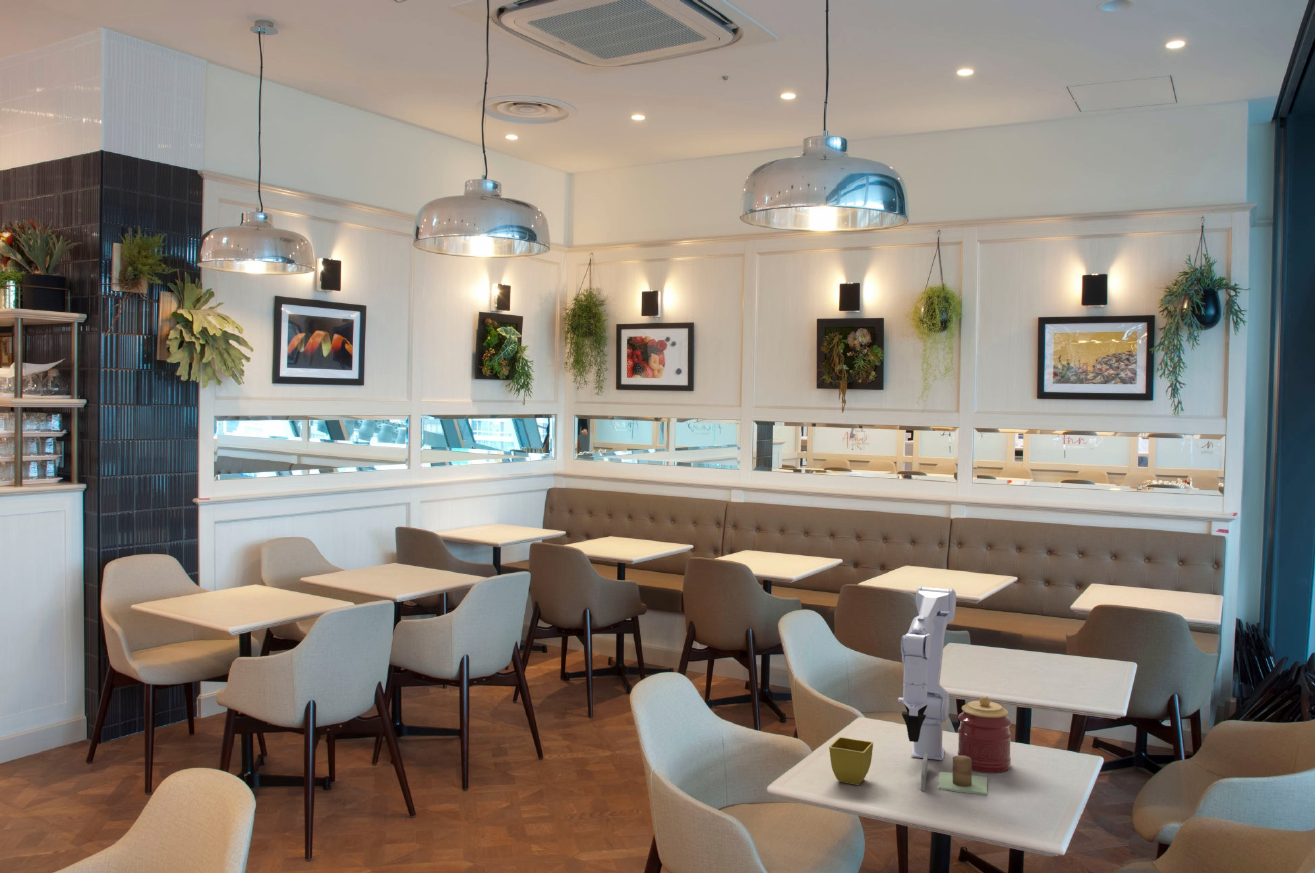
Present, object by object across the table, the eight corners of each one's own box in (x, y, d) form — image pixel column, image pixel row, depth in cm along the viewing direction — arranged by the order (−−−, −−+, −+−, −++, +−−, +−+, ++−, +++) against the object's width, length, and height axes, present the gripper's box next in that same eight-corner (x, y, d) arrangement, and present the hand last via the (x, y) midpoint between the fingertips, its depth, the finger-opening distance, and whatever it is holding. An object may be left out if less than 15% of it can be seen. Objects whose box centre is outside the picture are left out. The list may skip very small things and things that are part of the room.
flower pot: (827, 783, 233) (828, 746, 233) (838, 771, 241) (839, 736, 241) (863, 790, 229) (864, 752, 229) (873, 778, 237) (873, 741, 237)
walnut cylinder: (952, 778, 236) (952, 754, 235) (971, 780, 234) (971, 756, 234) (952, 785, 231) (952, 760, 231) (971, 787, 230) (971, 762, 230)
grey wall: (924, 768, 244) (924, 752, 244) (927, 768, 244) (927, 752, 244) (920, 790, 229) (921, 774, 229) (924, 791, 229) (924, 774, 229)
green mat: (939, 773, 241) (939, 771, 241) (986, 778, 237) (986, 776, 237) (938, 789, 230) (938, 787, 230) (986, 795, 227) (987, 792, 227)
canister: (947, 763, 248) (948, 695, 248) (974, 752, 256) (975, 686, 256) (994, 777, 238) (995, 706, 238) (1020, 765, 247) (1021, 697, 247)
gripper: (900, 673, 248) (899, 726, 248) (896, 688, 234) (896, 743, 234) (928, 676, 246) (928, 728, 246) (926, 690, 232) (926, 747, 232)
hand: (914, 736), depth 240 cm, fingers open, 7 cm apart
